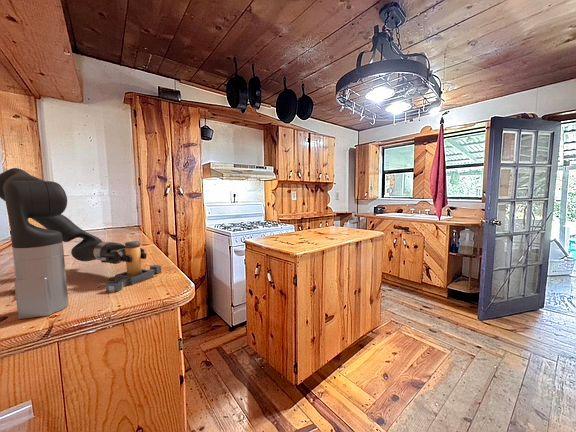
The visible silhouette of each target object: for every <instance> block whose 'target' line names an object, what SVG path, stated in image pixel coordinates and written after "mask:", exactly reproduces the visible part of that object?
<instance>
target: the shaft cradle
mask: <svg viewBox="0 0 576 432" xmlns="http://www.w3.org/2000/svg"><path fill="white" fill-rule="evenodd" d="M161 272H162V265H158V264H153V265H150V266H149V269H144V268H142V274H138V275H135V276H127V271H124V272H123V271H122V272H120V273H118V274H115V275H114V278H115V280H111V281H108V282H106V283H105V292H106V293H117V292H118V293H119V292H120V291H122V290H123V288H125V287H127V286H129V285H130V286H133V285H136V284H139V283H142V282H145V281H148V280H150V279H154V278H155V275H158V274H161Z"/></svg>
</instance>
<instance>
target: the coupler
mask: <svg viewBox="0 0 576 432" xmlns="http://www.w3.org/2000/svg"><path fill="white" fill-rule="evenodd" d="M124 246H125V252H126V255H130V256H132V262H130V263H129V262H125V263H126V265H125V267H126V272H127V276H135V275H138V274H142V269H143V268H142V259H141V252H140V248H141V242H140V240H139V241H138V240H133V241H126V242H125V243H124Z"/></svg>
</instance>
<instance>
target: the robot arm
mask: <svg viewBox="0 0 576 432" xmlns="http://www.w3.org/2000/svg"><path fill="white" fill-rule="evenodd" d="M62 186H63V185H61V184H59V183H58V182H55V181H51V180H43V179H41V178H38V177H37V176H35V175H31V174H30V173H29V172H27V171H25V170H23V169H21V168H18V167H13V168H9V169H7V170H5V171H3V172H1V173H0V199H1V200H3V201H4V202H5V207H6V211H7V216H8V220H9V221H8V222H9V227H10V237H11V238H10V239H11V247H12V249H11V250H12V256H13V264H14V265H13V266H14V275H15V280H14V292H15V300H16V301H15V302H16V308H17V309H16V310H17V316H18V317H17V318H18V320H21V319H30V318H32V319H33V318H37V317H38V318H39V317H47V316H50V315H52V314H54V313H57V312H59V311H61V310H64V309H65V308H67V307H68V306H69V303H70V302H69V294H68V293H69V292H68V284H67V283H68V282H67V271H66V262H65V253H64V243H69V242H71V241H73V240H75V239H79V238H80V239H82V240H81V241H79V242H78V243H77V244H76V245H74V247H72V248H71V250H70V254H71V256H72V257H73V258H74V259H75V260H77V261H80V262H91V261H100V262H101V263H102V264H103V263H106V264H112V265H118V264H120V263H124V262H125V263H126V262H129V263H130V262H132V256H130V255H126V252H125V244H122V243H119V242H113V241H112V242H111V241H103V240H102V239H101V238H99V237H97V236H96V235H94V234H91V233H90V232H87V231H85V230H84V229H82V228H80V227H79V226H78V225H77V224H75V223H74V222H73V220H71V219H69V218H68V217H66V215H64V214H63V213H64V212H65V210H66V209H67V206H68V196H67V194H66V191H65V189H64V188H63V187H62ZM29 219H31V220H33V221H34V222H36V223H38V224H40V225H41V226H43V227H44V228H43V227H39V226H37V225H34V224H32V223H30V221H29ZM140 252H141V260H146V259H147V258H148V257H147V253H146V251H145V249H144V248H142V247H140Z"/></svg>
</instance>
